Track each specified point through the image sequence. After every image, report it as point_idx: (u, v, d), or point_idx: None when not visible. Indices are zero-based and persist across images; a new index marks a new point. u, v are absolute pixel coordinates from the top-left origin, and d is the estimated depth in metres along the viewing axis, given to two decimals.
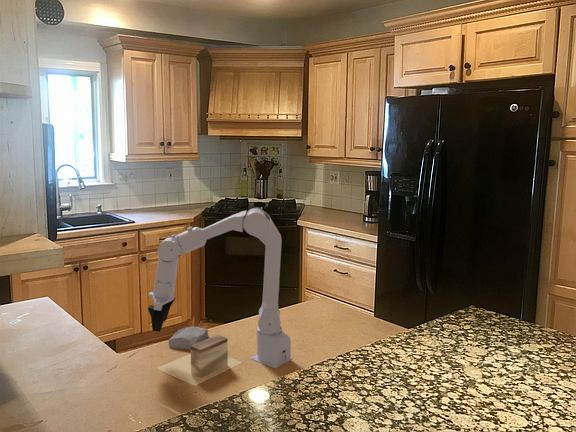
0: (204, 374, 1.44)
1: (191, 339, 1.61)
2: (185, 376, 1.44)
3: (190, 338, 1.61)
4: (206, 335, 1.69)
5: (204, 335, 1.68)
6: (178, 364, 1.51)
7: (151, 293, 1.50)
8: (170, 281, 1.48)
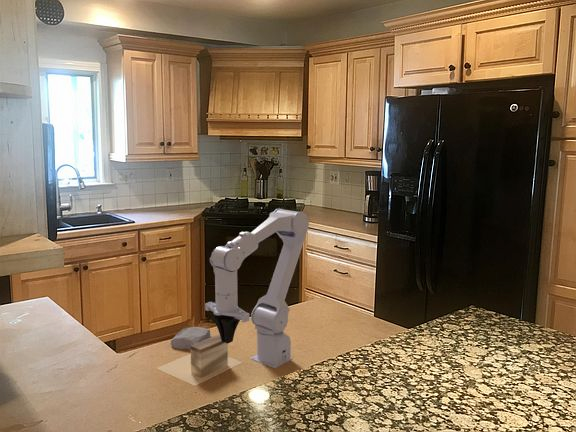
0: (204, 374, 1.44)
1: (194, 340, 1.60)
2: (185, 376, 1.44)
3: (193, 338, 1.61)
4: (208, 335, 1.69)
5: (207, 335, 1.68)
6: (178, 364, 1.51)
7: (217, 311, 1.38)
8: None
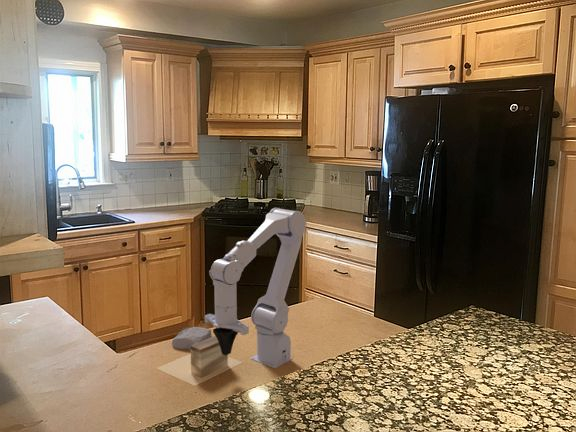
0: (204, 374, 1.44)
1: (195, 340, 1.60)
2: (185, 376, 1.44)
3: (194, 338, 1.61)
4: (209, 335, 1.69)
5: (208, 335, 1.68)
6: (178, 364, 1.51)
7: (217, 324, 1.38)
8: (236, 303, 1.40)
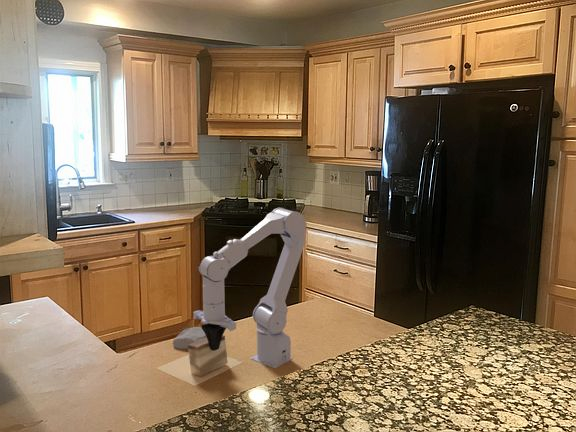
0: (204, 372, 1.44)
1: (196, 340, 1.60)
2: (185, 376, 1.44)
3: (195, 338, 1.61)
4: None
5: None
6: (178, 364, 1.51)
7: (205, 320, 1.41)
8: (223, 300, 1.42)
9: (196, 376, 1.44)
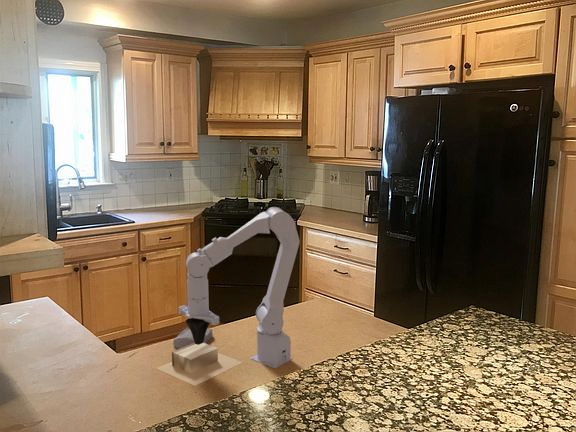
0: (192, 357, 1.46)
1: None
2: (185, 376, 1.44)
3: None
4: (210, 335, 1.69)
5: (209, 335, 1.68)
6: None
7: (189, 315, 1.45)
8: (205, 296, 1.45)
9: (196, 376, 1.44)
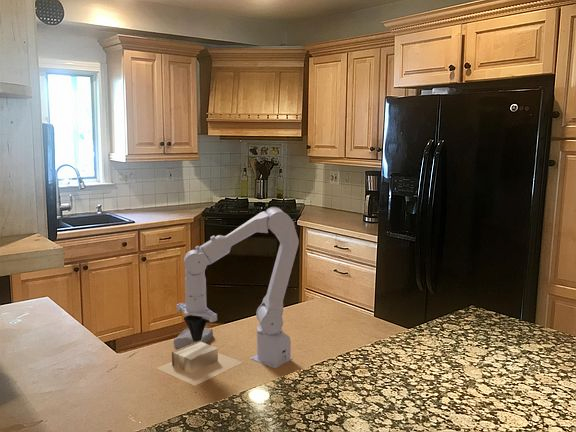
0: (192, 357, 1.46)
1: None
2: (185, 376, 1.44)
3: None
4: (211, 335, 1.69)
5: (209, 335, 1.68)
6: None
7: (187, 312, 1.45)
8: (202, 293, 1.46)
9: (196, 376, 1.44)
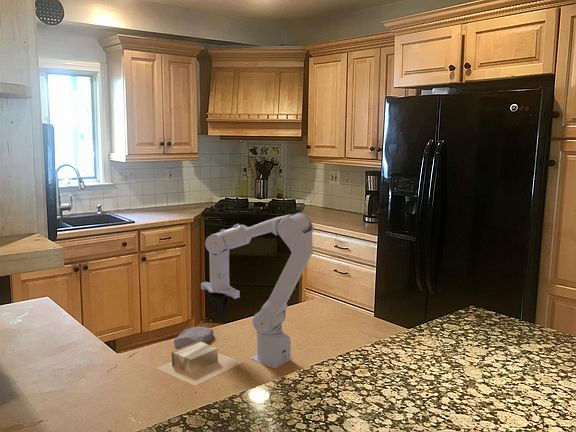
0: (192, 357, 1.46)
1: (197, 339, 1.61)
2: (185, 376, 1.44)
3: (196, 337, 1.61)
4: (211, 335, 1.69)
5: (210, 335, 1.68)
6: None
7: (211, 289, 1.56)
8: (220, 273, 1.55)
9: (196, 376, 1.44)
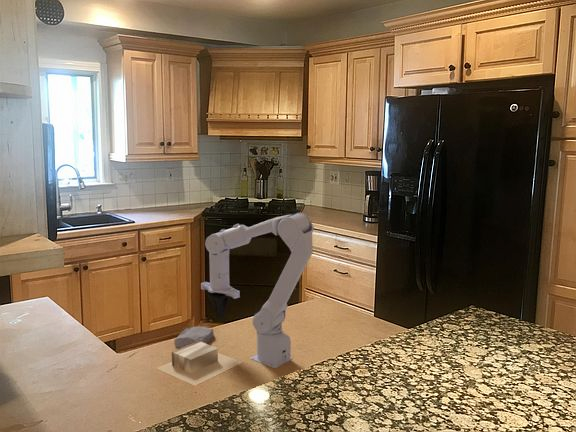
0: (192, 357, 1.46)
1: (197, 339, 1.61)
2: (185, 376, 1.44)
3: (196, 337, 1.61)
4: (212, 335, 1.69)
5: (210, 335, 1.68)
6: None
7: (211, 289, 1.56)
8: (220, 273, 1.55)
9: (196, 376, 1.44)
